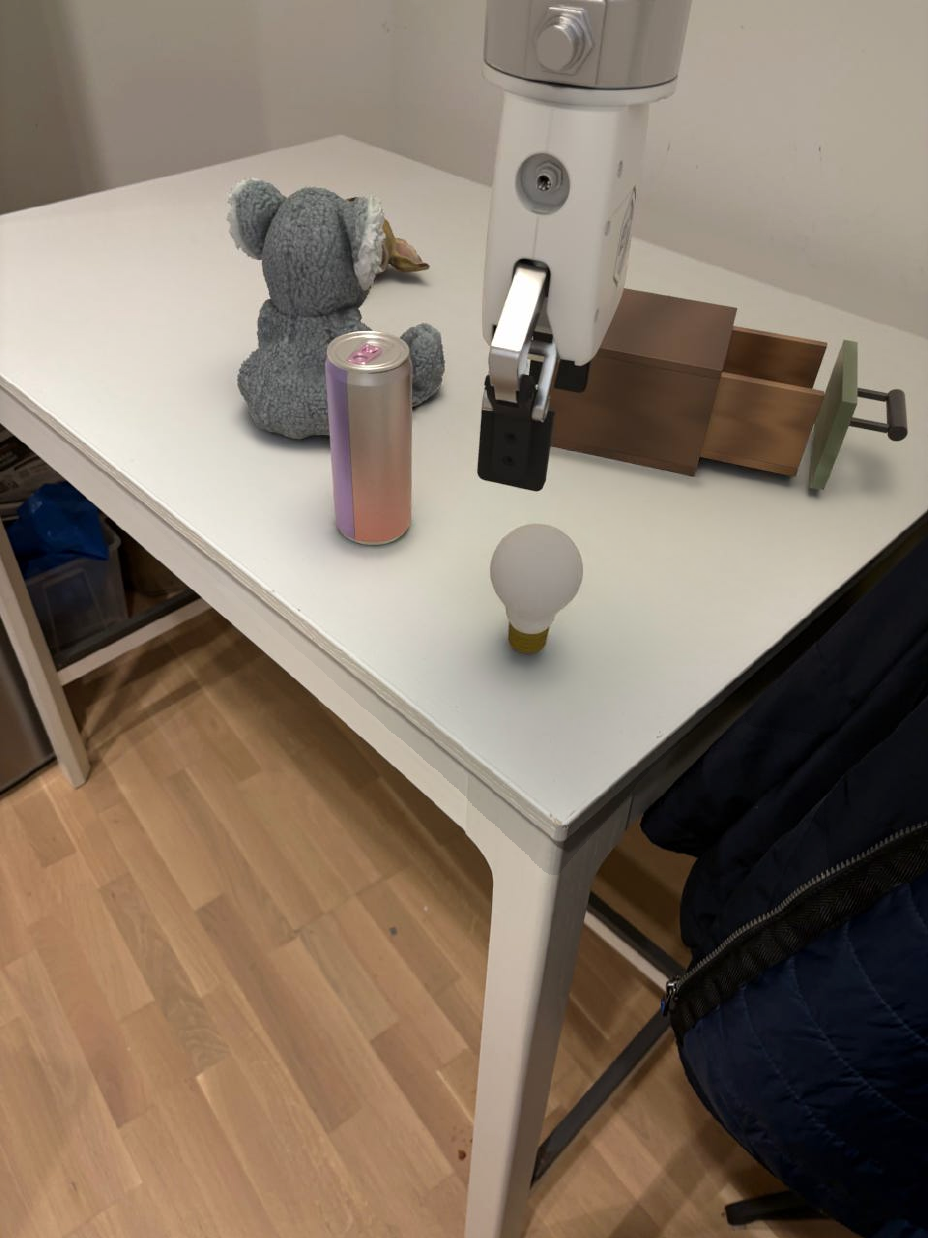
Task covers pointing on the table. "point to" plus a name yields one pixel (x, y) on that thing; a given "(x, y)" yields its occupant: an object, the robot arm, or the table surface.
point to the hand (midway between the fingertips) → (535, 430)
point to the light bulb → (535, 581)
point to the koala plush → (312, 299)
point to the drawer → (789, 405)
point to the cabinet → (649, 383)
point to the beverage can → (370, 434)
